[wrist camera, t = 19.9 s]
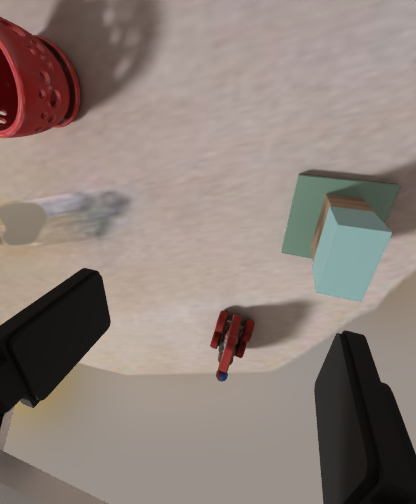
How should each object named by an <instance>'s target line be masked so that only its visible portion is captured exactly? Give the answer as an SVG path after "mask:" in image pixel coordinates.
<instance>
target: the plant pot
mask: <svg viewBox="0 0 416 504" xmlns="http://www.w3.org/2000/svg"><path fill="white" fill-rule="evenodd" d="M80 97H81V96H80V87H79V82H78V78H77V75H76V73H75V71H74V68H73V66H72V64H71V63H70V61H69V60H68V58H67V57H66V55H65V54H64V53H63V51H62V50H61V49H60V48H59V47H58V46H56V45H55V44H54V43H53V42H51V41H50V40H48V39H46V38H44V37H41V36H36V35H32V34H30V33H29V32H27V31H26V30H24V29H23V28H21V27H19V26H17V25H15V24H14V23H12V22H10V21H8V20H6V19H4V18H2V17H0V111H2V112H4V113H5V114H6V115H5V116H4V115H1V114H0V120H2V121H4V122H5V124H3V123H0V138H13V137H22V136H29V135H33V134H37V133H41V132H44V131H46V130H48V129H50V128H52V127H55V128H59V127H64V126H67V125H68V124H70V123H71V122H72V121H73V120H74V119H75V117H76V115H77V113H78V111H79V107H80Z"/></svg>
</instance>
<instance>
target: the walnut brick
mask: <svg viewBox="0 0 416 504" xmlns="http://www.w3.org/2000/svg"><path fill="white" fill-rule="evenodd" d="M330 206H332V207H340V208H348V209H356V210H364V211H372V212H374V213H376V212H375V211H374V210H373V209H372V208H371V207H370V206H369V205H368V203H367V202H366V201H365V200H364V199H363V198H358V197H350V196H341V195H333V194H325V198H324V201H323V205H322V208H321V212H320V215H319V219H318V222H317V226H316V229H315V233H314V236H313V240H312V243H311V251H312V258H313V261H314V257H315V254H316V251H317V247H318V244H319V240H320V237H321V234H322V230H323V227H324V223H325V220H326V217H327V213H328V210H329V207H330Z"/></svg>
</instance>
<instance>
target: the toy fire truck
mask: <svg viewBox="0 0 416 504" xmlns="http://www.w3.org/2000/svg"><path fill="white" fill-rule="evenodd" d="M227 317H228V312H225V311H221V312H220V315H219V318H218V321H217V325H216V329H215V332H214V335H213V338H212V341H211V345H210V346H211V347H212V348H215V349H217V347H218V346H219V355H218V361H219V368H218V371H217V373H216V377H217V379H218V380H219V381H225V380H226V379H227V376H228V374H227V371H228V368H229V365H231V364H232V362H233V357H234V356H236V357H239V358H242V357H243V354H244V351H245V348H246V343H247V342H249V341H250V338H251V336H252V332H253V328H254V322H253V321H250V320H247V321H246V323H245V326H241V325H240V322H241V316H240V315H236V314H234V315H233V318H232V321H231V322H229V321H227ZM225 325H226V326H228V327H230V328H229V331H228V332H227V334H226V335H225V334H222V332H223V330H224V327H225ZM239 330H240V331H243V333H242V337H240V338H239V341H238V343H237V340H238V331H239Z"/></svg>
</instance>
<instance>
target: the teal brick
mask: <svg viewBox="0 0 416 504" xmlns="http://www.w3.org/2000/svg"><path fill="white" fill-rule="evenodd" d="M391 235H392V231H391V230H390V229H389V228H388V227H387V226H386V225H385V224H384V223H383V222H382V220H381V219H380V218H379V217H378V216H377V215H376V214H375V213H374V212H372V211H364V210H356V209H348V208H340V207H332V206H330V207H329V210H328V213H327V217H326V220H325V223H324V227H323V230H322V234H321V237H320V240H319V244H318V247H317V251H316V254H315V257H314V261H313V264H312V269H313V276H314V283H315V290H316V293H320V294H325V295H329V296H334V297H339V298H344V299H349V300H354V301H359V302H361V301H362V299H363V297H364V295H365V293H366V290H367V288H368V286H369V284H370V281H371V279H372V277H373V275H374V272H375V270H376V268H377V266H378V264H379V261H380V259H381V257H382V255H383V252H384V250H385V248H386V246H387V244H388V241H389V239H390V237H391Z"/></svg>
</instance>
